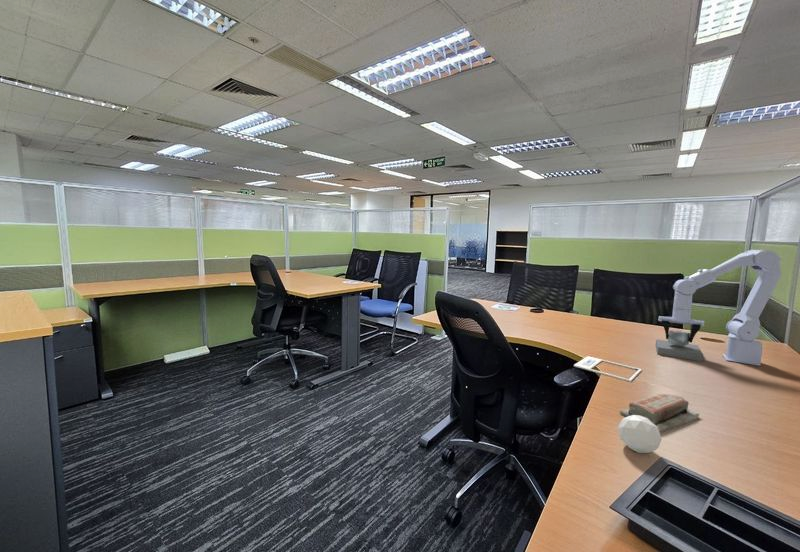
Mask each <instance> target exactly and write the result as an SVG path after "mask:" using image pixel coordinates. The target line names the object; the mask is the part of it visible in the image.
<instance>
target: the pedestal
mask: <svg viewBox="0 0 800 552" xmlns="http://www.w3.org/2000/svg"><path fill="white" fill-rule="evenodd" d="M655 350H656V355H658V356H659V355H660V356H664V357H665V356H666V357H667V356H668V357H673V358H678V359H683V360H690V361H697V362H703V357H704V353H703V352H702V351H701V348H700V347H699V344H698V345H697V344H692V343H689V345H686V346H679V345H675V344H671V343H668V340H666V339H665V340H664V339H657V338H656V339H655Z"/></svg>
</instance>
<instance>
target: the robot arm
mask: <svg viewBox="0 0 800 552" xmlns="http://www.w3.org/2000/svg"><path fill="white" fill-rule="evenodd" d="M781 259H782V258H781V257H780V256H779V255H778V253H776V251H773V250H771V249H770V250H769V249H749V250H746V251H745V252H741V253H739V254H738V255H736V256H734V257H732V258H730V259H728V260H725V261H724V262H722V263H720V264H718V265H717V266H715V267H713V268H711V269H708V268H707V269H706V268H704V269H701V268H700V269H698V270H697V271H696V273H693V274H691V275H689V276H688V275H686V276H685V277H684V279H678V280H676V281H675V282H674V284H673V285H672V289H673V290H674V297H673V306H672V315H671V316H662V315H661V316H660V315H659V316H658V319H657V320H658V322H661V324H662V327H663V330H664V333H665V340H668V337H669V331H670V325H671V324H670V323H674V324H682V325H690V332H689V333H690V337H689V344H692V343H693V341H694V338H695V336H696V334H697V333H698V332H699V331H700V330H701V327H702V328H703V327H705V320H698V319H692V318H691V314H692V313H691V312H692V304H693V294H695V293H696V291H697V290H698V289H701V288H703V287H705V286H707V285H709V284H711V283H713V282H715V281H716V279H717V277H718V276H721V275H724V274H727V273H728V272H731V271H733V270H735V269H737V268H739V267H750V268H752V269H753V270H754V271H755V273H756V274H757V275H758V276H757V279H756V280H755V282H754V284H753V287H752V288H751V290H750V292H749V294H748V296H747V298H746V300H745V302H744V303H743V305H742V307H741V309H740V312H738V313H736V314H735V315H734V316H733V317H732V319H731V320H729V321H728V322H727V323H726V326H725V329H726V330H727V332H728V335H727V342H726V349H725V350H726V351H725V353H723V354H722V357H724V359H725V360H726V361H728V362H735V363H740V364H746V365H753V366H759V367H761V362H762V356H763V342H762V341H761V340H757V338H758V337H759V335H760V326H761V322H760V319H759V318H760V316H761V314H762V312H763V310H764V308H765V307H766V305H767V303H768V301H769V299H770V298H771V295H772V294H773V292H774V290H775V287H776V286H777V284H778V282H779V281H780V278H781V276H782V270H781V265H780V262H781ZM755 339H756V340H755Z"/></svg>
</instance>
